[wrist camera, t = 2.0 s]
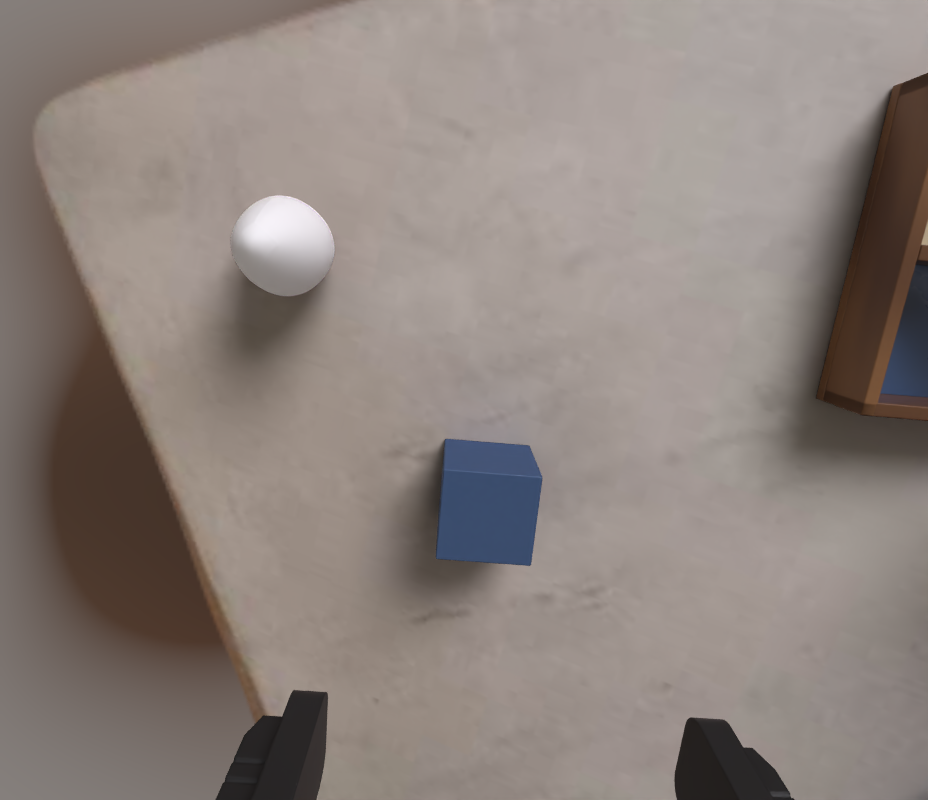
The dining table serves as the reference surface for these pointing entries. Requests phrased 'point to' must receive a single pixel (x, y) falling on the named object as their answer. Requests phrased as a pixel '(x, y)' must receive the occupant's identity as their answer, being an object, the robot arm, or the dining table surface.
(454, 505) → the block
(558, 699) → the dining table surface
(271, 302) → the dining table surface
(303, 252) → the egg
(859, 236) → the sorter
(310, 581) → the dining table surface
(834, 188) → the dining table surface
